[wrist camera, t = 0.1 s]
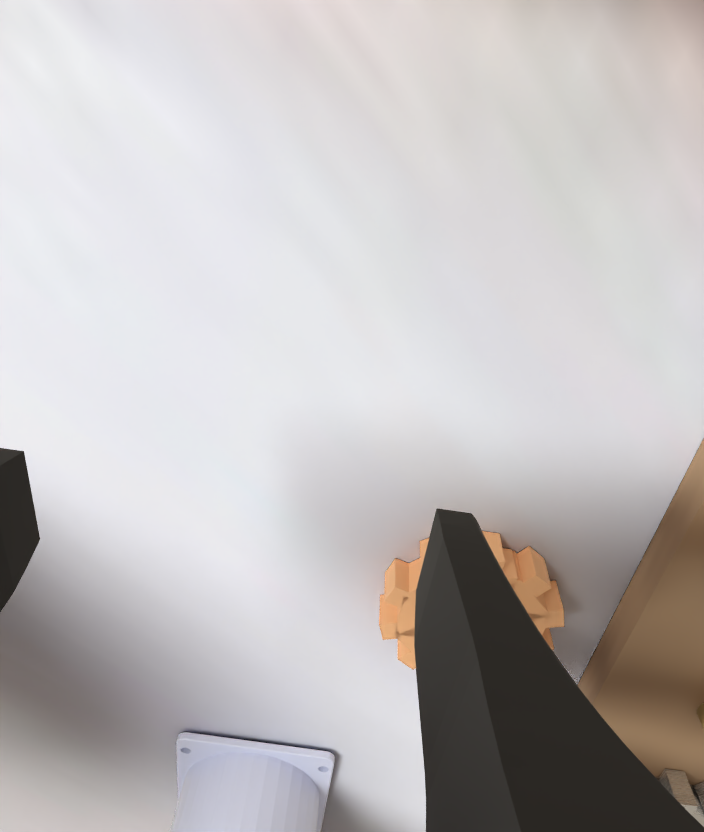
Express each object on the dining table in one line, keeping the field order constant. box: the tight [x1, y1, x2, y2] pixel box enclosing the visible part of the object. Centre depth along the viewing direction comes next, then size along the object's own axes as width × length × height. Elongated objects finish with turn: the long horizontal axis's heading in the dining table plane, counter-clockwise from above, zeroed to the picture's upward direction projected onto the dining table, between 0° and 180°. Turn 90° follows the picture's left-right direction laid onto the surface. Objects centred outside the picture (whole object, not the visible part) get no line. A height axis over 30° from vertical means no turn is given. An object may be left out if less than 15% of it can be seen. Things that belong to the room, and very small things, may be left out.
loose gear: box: [379, 531, 564, 669], centre depth 24 cm, size 7×7×6 cm
